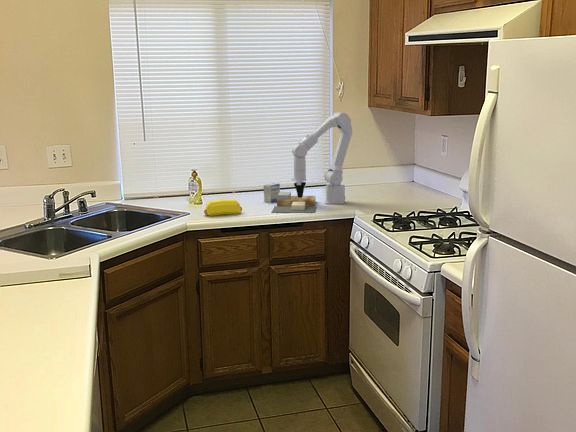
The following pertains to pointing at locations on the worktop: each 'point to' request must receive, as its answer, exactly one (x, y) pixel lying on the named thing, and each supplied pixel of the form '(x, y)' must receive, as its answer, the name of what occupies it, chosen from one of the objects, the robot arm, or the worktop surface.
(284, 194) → the slate card
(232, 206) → the banana
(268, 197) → the medicine box
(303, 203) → the ivory card
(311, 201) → the deck
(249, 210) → the worktop surface
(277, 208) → the mat
